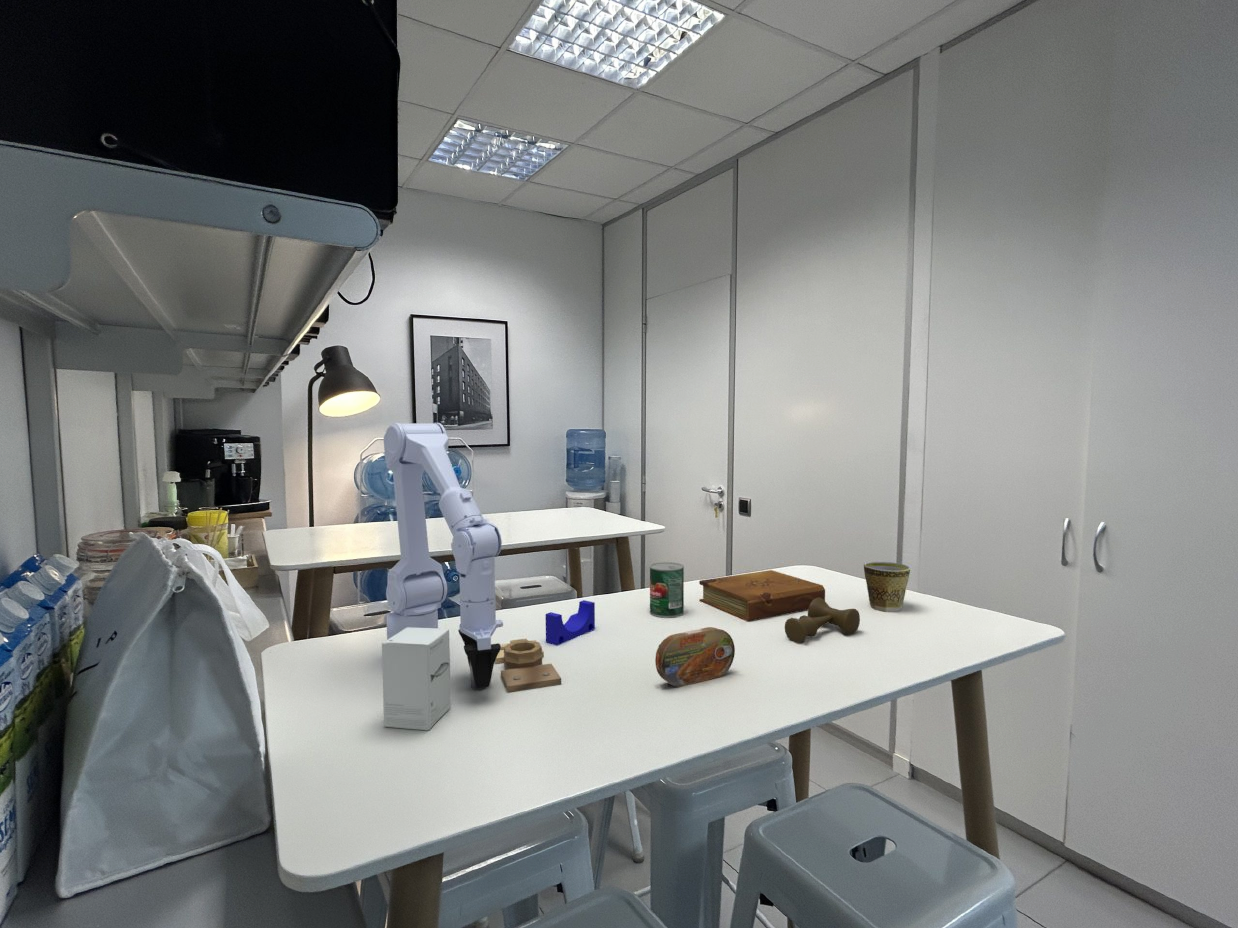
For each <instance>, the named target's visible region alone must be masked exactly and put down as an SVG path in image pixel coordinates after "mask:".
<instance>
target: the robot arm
mask: <svg viewBox="0 0 1238 928" xmlns="http://www.w3.org/2000/svg"><path fill="white" fill-rule="evenodd" d="M449 443H450V442H449V437H448V434H447V430H446V428H445V426H443V424H442V423H440V422H432V423H399V422H392V423H391V424H389V426H388V428H386V430H385V433H384V436H383V451H384V458H385V464H386V465H385V466H386V469H388V470H390V471H392V477H393V487H394V489H393V491H394V499H395V509H396V510H395V511H396V518H397V531H398V539H399V542H398V543H399V549H400V550H399V551H400V559H399V560H398V561H397V563H396V564H395V565H394V566H393V567H392V568H391V569H390V570H389V571H388V572H387V584H386V590H385V597H386V601H387V604H388V606H389V608H390V609H391V610H392V612H387V613H386V640H388V639H389V638H391V637H393V636H394V635H396V634H397V633H399V632H400V631H402V630H403V629H405V628H407V627H410V628H437V629H439V616H438V615H439V614H438V613H439V612H438V611H439V610H438V609H441V608H442V603H443V602H444V601H445V599H446V597H447V594H448V584H447V580H446V578H445V575H444V571H443V565H442V564H441V563H439V562H438V561H436V560H435V559H433V558H432V557H430V551H429V549H430V548H429V541H428V539H429V538H428V531H427V528H428V527H427V519H426V508H425V499H424V488H423V479H422V478H423V477H422V476H423V473H424V472H425V471H426V473H427V475H428V476H429V478H430V480H431V481H432V483H433V485H434V486H435V488H436V490H437V491H438V493H439V495H440V497H441V498H440V499H439V500H438V501H439V502H438V508H439V509H440V512H441V514H442V517H443V518H444V521H445V523H446V525H447V526H448V529H449V530H450V533H451V534H452V541H451V543H450V545H451V547H450V548H451V552H452V555H453V557H454V561H455V569H456V572H457V573H459V574H458V575H459V605H460V606H459V612H460V613H459V615H460V623H459V629H458V630H457V631H458V634H459V636H460V637H461V639H462V642H463V644H464V645H463V651H464V652H465V654H466V657H467V662H468V667H469V668H470V663H471V667H472V672H473V678H474V682H475V686H476V688H477V689H478V688H485V687H488V688H490V685H491V682H492V681H491V680H492V676H493V671H494V665H495V660H496V657H497V655H498V653H499V652H500V648H501V646H500V644H501V643H500V642H498V643H492V636H493V634H494V633H495V632H496V630H497V628H503V627H504V621H503V620H502V619H496V617H497V616H496V615H497V614H496V613H497V612H496V610H497V609H496V565H495V563H496V562H495V561H496V560H495V558H497V557H498V556H499V554H500V553H501V551H502V546H503V542H502V536H501V533H500V530H499V527H498V526H497V525H496V524H494V522H491V521H489V519H487V518H484V516H483V515H482V513H481V510H480V509H479V506H478V504H477V503H476V500H475V499H474V497H473V494H472V493H471V491H470V490H469V489H467V488H463V487H461V485H460V483H459V480H458V478H457V475H456V472H455V470H454V468H453V465H452V462H451V460H450V457H449V455H448V450H449V445H450V444H449Z"/></svg>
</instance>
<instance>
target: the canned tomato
mask: <svg viewBox="0 0 1238 928" xmlns="http://www.w3.org/2000/svg"><path fill="white" fill-rule="evenodd" d="M684 568H685V566H684V565H683V564H682V563H679V562H678V563H677V562H671V561H670V562H669V561H668V562H666V561H664V562H663V561H661V562H655V563H652V564H651V563H650V565H649V614H650V615H652V616H654V617H657V618H664V619H668V618H669V619H670V618H678V617H681V616H682V615H684V612H685V611H684V608H685V605H684V602H685V601H684V600H685V599H684V598H685V597H684V595H685V594H684V592H685V591H684V589H685V588H684V582H685V581H684V580H685V579H684V577H685V576H684V575H685V572H684V570H685V569H684Z"/></svg>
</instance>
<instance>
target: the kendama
mask: <svg viewBox="0 0 1238 928" xmlns="http://www.w3.org/2000/svg"><path fill="white" fill-rule="evenodd" d="M860 617H861V616H860V612H859V610H858V609H856V608H847V609H846V608H845V609H837V608H834V607H831V606H830V605H829V604H828V603H827V601H826V599H825V600H823V599H822V598H815V599H814V600H813V601H812V602H811V603H810V605H809V608H808V610H807V615H801V616H799V618H796V617H795V618H794V617H789V618H788V619H786V621H785V623H784V632H785V635H786V637H787V638H788V639H789V641H790V642H793V643H796V644H803V643H804V642H805V641H806V640H807V637H808V638H813V637H815V636H817V634H818V630H819V629H821V628H822V627H823V626H824V625H826V624H831V625H833V626H835V627H837V628H839V629H840V630H841V631H842V633H844V634H845V635H847V636H851V635H854V634H855V633H857V631H858V629H859V627H860V622H861V618H860Z"/></svg>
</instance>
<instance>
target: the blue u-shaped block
mask: <svg viewBox="0 0 1238 928" xmlns="http://www.w3.org/2000/svg"><path fill="white" fill-rule="evenodd" d="M578 603H579V604H578V611H577V612H576V613H574V614H571V615H570V616H569V618H568V619H567V621H566V622H565V623H564V621H563V615H562V614H560V613H556V612H551V611H550V612H548V613H545V615H544V616H545V643H546V644H550V645H553V646H560V645H562V644H566V643H567V642H570V641H571V639H572V640H574V639H577V638H578V636H579V637H581V636H583V635H585V634H588V633H590V632H592V631H594V630H595V629H596V621H595V620H596V619H595V617H596V616H595V615H596V613H595V611H596V609H595V607H596V604H595V602H594V601H591V600H590V601H589V600H585V599H584V600H580V601H578ZM580 635H581V636H580Z"/></svg>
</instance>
